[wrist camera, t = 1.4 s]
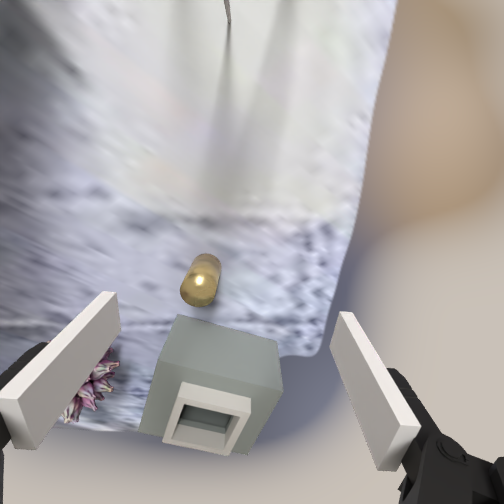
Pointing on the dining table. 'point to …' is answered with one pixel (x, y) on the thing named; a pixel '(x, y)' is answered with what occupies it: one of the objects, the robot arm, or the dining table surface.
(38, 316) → the dining table surface
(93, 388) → the flower
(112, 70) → the dining table surface
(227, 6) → the juicer
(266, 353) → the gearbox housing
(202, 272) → the brass slug
